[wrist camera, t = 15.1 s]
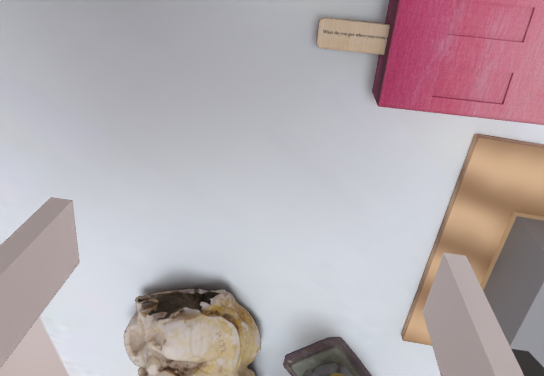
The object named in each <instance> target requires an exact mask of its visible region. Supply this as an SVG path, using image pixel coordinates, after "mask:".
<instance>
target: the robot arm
mask: <svg viewBox="0 0 544 376" xmlns="http://www.w3.org/2000/svg"><path fill="white" fill-rule="evenodd" d="M78 264H79V253H78V245H77V236H76V227H75V219H74V210H73V202H72V200H67V199H59V198H52V197H51V198H50V199H49V200H48V201H47V202H46V203H45V204H44V205H42V206H41V207H40V208H39V209H38V210H37V211H36V212H35V213H34V214H33V215H32V216H31V217H30V218H29V219H28V220H27V221H26V222H25V223H24V224H22V225H21V226H20V227H19V228H18V229H17V230H16V231H15V232H14V233H13V234H12V235H11V236H10V237H9V238H8V239H7V240H6V241H5V242H4V243H2V244H1V245H0V368H1V367H2V366H3V364H4V363H5V361H6V360H7V359H8V358H9V356H10V355H11V354H12V352H13V351H14V349H15V348H16V347H17V345H18V344H19V343H20V341H21V340H22V339H23V337H24V336H25V335H26V333H27V332H28V331H29V329H30V328H31V327H32V325H33V324H34V323H35V321H36V320H37V319H38V317H39V316H40V315H41V313H42V312H43V311H44V309H45V308H46V307H47V305H48V304H49V303H50V301H51V300H52V299H53V297H54V296H55V295H56V293H57V292H58V291H59V289H60V288H61V287H62V285H63V284H64V283H65V281H66V280H67V279H68V277H69V276H70V274H71V273H72V272H73V270H74V269H75V268H76V266H77V265H78ZM423 315H424V319H425V322H426V325H427V329H428V332H429V336H430V339H431V343H432V346H433V349H434V353H435V356H436V360H437V363H438V367H439V370H440V373H441V376H544V367H543V366H542V365H541V364H540V363H539V362H538V361H537V360H536V359H535V358H534V357H533V355H532V354H531V353H530V352H529V351H524V350H517V349H511V347H510V345H509V343H508V341H507V339H506V337H505V335H504V333H503V331H502V329H501V327H500V325H499V323H498V321H497V319H496V317H495V315H494V312H493V310H492V308H491V306H490V304H489V302H488V300H487V298H486V296H485V294H484V292H483V290H482V288H481V286H480V284H479V282H478V279H477V277H476V275H475V273H474V271H473V269H472V267H471V265H470V263H469V261H468V259H467V257H466V256H464V255H457V254H450V253H444V254H443V256H442V259H441V262H440V265H439V267H438V270H437V273H436V276H435V279H434V281H433V284H432V287H431V290H430V292H429V295H428V298H427V301H426V303H425V306H424V309H423Z"/></svg>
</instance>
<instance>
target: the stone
mask: <svg viewBox="0 0 544 376" xmlns="http://www.w3.org/2000/svg"><path fill="white" fill-rule="evenodd" d="M203 293H204V295H205V300H206V301H204V302H201V301H200V299H201V298H202V297H201V294H203ZM209 294H210V295H212V296H213V298H211V299H210V297H209ZM208 300H211V306H210V304H209V302H207V301H208ZM135 301H136V308H137V313H138V314H136V315H134V316H133V318H132V319H131V320H130V322H129V324H128V326H127V328H126V330H125V332H124V344H125V348H126V352H127V354H128V356H129V358H130V360H131V361H132V362H133V363H134V364H135V365H136V366H139V367H140V368H139V369H138V375H139V376H255V374H254V372H253V371H252V370H251V369H248V368H247V366H248V364H250V363H252V362H253V361H254V358H255V357H256V356H257V355H258V353H259V352H260V350H261V338H260V334H259V329H258V327H257V325H256V324H255V321H254V319H253V318H252V316H251V315H250V314H249V313H248V311H247V310H246V309H245V308H244V307H243V306H241V305H239V304H238V303H237V302H236V300H235V298H234V297H233V295H232V294H231V293H229V292H227V291H225V290H224V289H222V290H216V291H214V290H213V291H206V290H201V289H197V290H194V289H182V290H173V291H172V290H169V291H163V292H158V293H153V294H148V295H143V296H138V297H137V298H136V299H135Z"/></svg>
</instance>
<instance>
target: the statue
mask: <svg viewBox="0 0 544 376" xmlns="http://www.w3.org/2000/svg"><path fill="white" fill-rule="evenodd" d="M283 366H284V368H285V369H286V370H287V371H288V372H289V373H290V374H291V376H371V374H370V373H369V372H368V370H367V369H366V368H365V366H364V365H363V364H362V362H361V361H360V360H359V358H358V357H357V356H356V355H355V353H354V352H353V351H352V350H351V349H350V348H349V346H348V345H347V344H346V343H345V342H344V341H343V339H342V338H341V337H340V338H327V339H324V340H322V341H319V342H317V343H314V344H312V345H310V346H307V347H305V348H302V349H300V350H297V351H295V352H292V353H290V354H288V355H286V356H285V360H284V363H283Z"/></svg>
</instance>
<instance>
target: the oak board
mask: <svg viewBox="0 0 544 376" xmlns="http://www.w3.org/2000/svg"><path fill="white" fill-rule="evenodd" d="M513 212H518V213H524V214H530V215H536V216H542V217H544V145H541V144H535V143H529V142H523V141H517V140H511V139H505V138H499V137H493V136H487V135H481V134H475V135H474V138H473V141H472V144H471V146H470V149H469V152H468V154H467V157H466V160H465V163H464V165H463V168H462V171H461V173H460V176H459V179H458V182H457V184H456V187H455V190H454V192H453V195H452V198H451V201H450V203H449V206H448V209H447V211H446V214H445V217H444V220H443V222H442V225H441V228H440V230H439V233H438V236H437V239H436V241H435V244H434V247H433V249H432V252H431V255H430V258H429V260H428V263H427V266H426V268H425V271H424V274H423V277H422V279H421V282H420V285H419V287H418V290H417V293H416V296H415V298H414V301H413V304H412V307H411V309H410V312H409V315H408V317H407V320H406V323H405V326H404V328H403V331H402V339H403V341H408V342H414V343H420V344H425V345H431V346H432V343H431V339H430V336H429V332H428V329H427V325H426V322H425V319H424V315H423V309H424V306H425V303H426V301H427V298H428V295H429V292H430V290H431V287H432V284H433V281H434V279H435V276H436V273H437V270H438V267H439V265H440V262H441V259H442V256H443V254H444V253H450V254H457V255H464V256H466V257H467V259H468V261H469V263H470V265H471V267H472V269H473V271H474V273H475V275H476V277H477V279H478V282H479V284H480V286H481V283H482V281H483V279H484V277H485V274H486V272H487V270H488V268H489V265H490V263H491V261H492V259H493V256H494V254H495V252H496V250H497V247H498V245H499V243H500V241H501V238H502V236H503V234H504V232H505V229H506V227H507V225H508V223H509V221H510V218H511V216H512V214H513Z"/></svg>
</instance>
